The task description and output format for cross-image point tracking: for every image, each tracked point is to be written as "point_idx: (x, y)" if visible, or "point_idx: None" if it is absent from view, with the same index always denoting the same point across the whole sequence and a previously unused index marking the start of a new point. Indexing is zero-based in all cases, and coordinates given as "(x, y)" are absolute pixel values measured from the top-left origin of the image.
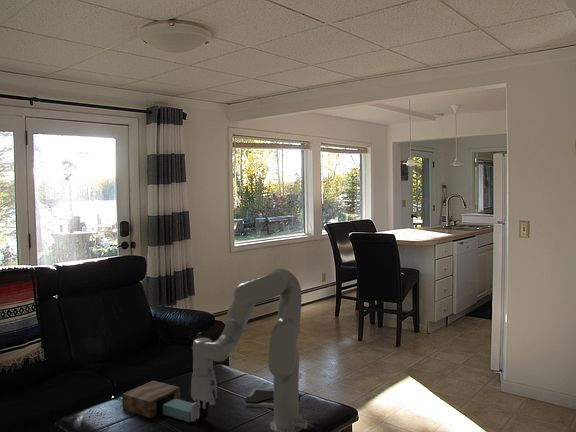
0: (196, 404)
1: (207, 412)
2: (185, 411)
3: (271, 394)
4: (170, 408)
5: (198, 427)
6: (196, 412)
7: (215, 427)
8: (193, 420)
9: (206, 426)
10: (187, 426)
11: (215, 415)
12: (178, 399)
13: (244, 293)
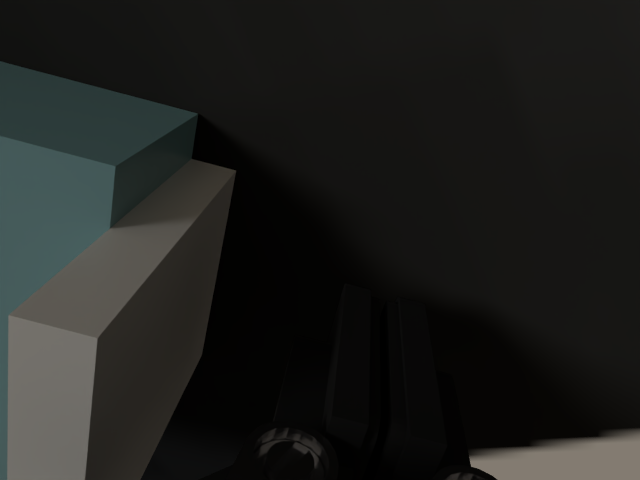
0: (101, 470)
1: (452, 419)
2: (3, 475)
3: None
4: None
5: None
6: (178, 347)
7: (624, 436)
8: (201, 346)
9: (473, 433)
10: (213, 471)
11: (483, 39)
12: None
13: None
